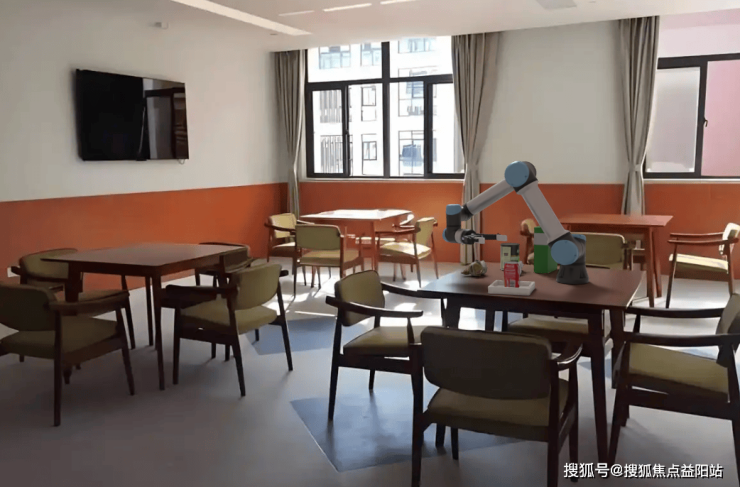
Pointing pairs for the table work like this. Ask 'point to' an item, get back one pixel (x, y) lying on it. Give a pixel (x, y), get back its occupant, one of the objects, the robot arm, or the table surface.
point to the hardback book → (542, 253)
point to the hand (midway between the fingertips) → (495, 239)
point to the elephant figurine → (520, 265)
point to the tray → (511, 288)
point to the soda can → (512, 274)
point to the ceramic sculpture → (476, 268)
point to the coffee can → (509, 253)
